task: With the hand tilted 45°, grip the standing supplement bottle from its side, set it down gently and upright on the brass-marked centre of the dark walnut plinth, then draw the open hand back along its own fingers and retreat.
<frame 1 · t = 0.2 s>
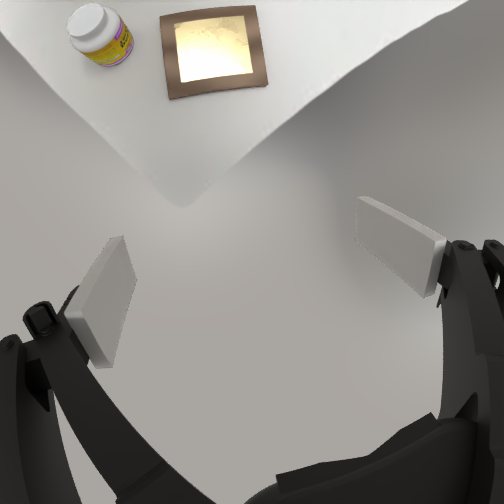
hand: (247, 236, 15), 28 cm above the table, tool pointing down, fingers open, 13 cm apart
walnut plinth: (212, 49, 32), on the table
supplement bottle: (113, 48, 28), on the table
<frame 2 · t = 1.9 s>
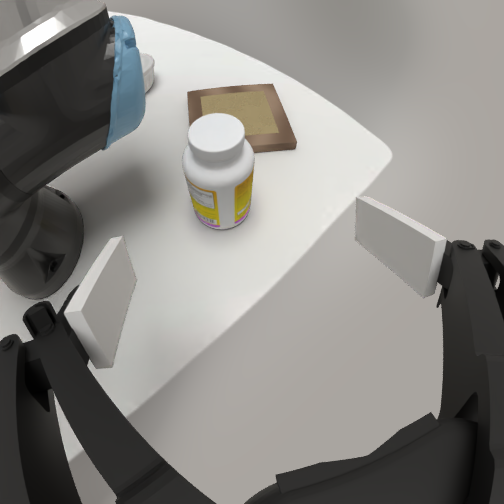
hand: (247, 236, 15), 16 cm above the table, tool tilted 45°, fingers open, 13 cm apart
walnut plinth: (237, 119, 38), on the table
ramekin: (129, 90, 41), on the table
supplement bottle: (222, 206, 33), on the table
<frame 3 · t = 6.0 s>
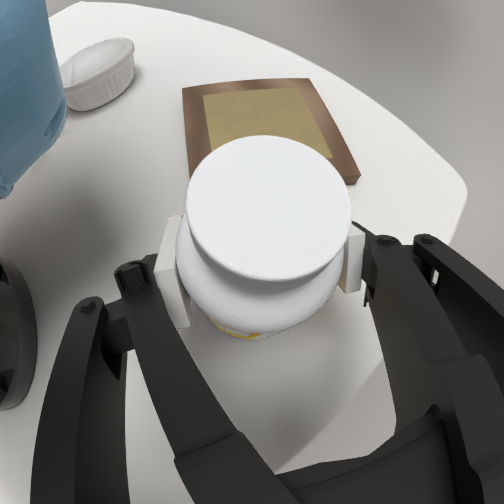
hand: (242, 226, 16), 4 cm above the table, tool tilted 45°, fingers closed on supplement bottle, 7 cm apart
walnut plinth: (261, 132, 24), on the table
ramekin: (101, 90, 27), on the table
supplement bottle: (249, 293, 20), on the table, touching gripper
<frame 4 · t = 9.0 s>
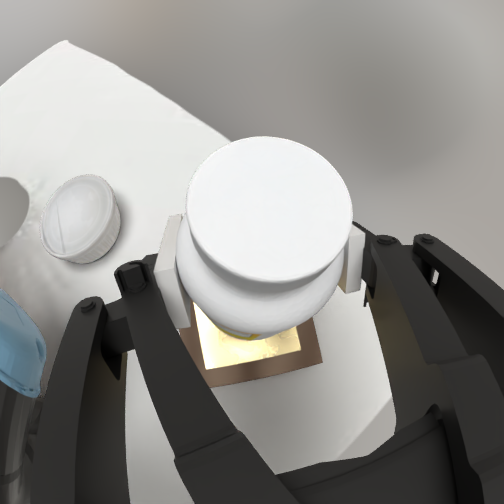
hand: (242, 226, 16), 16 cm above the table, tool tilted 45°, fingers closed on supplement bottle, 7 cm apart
walnut plinth: (243, 315, 30), on the table
ramekin: (91, 231, 32), on the table
supplement bottle: (249, 294, 20), point 11 cm above the table, touching gripper
when the fingers open (6 cm above the table, at t = 12.4 s): supplement bottle stays where it is, resting on walnut plinth.
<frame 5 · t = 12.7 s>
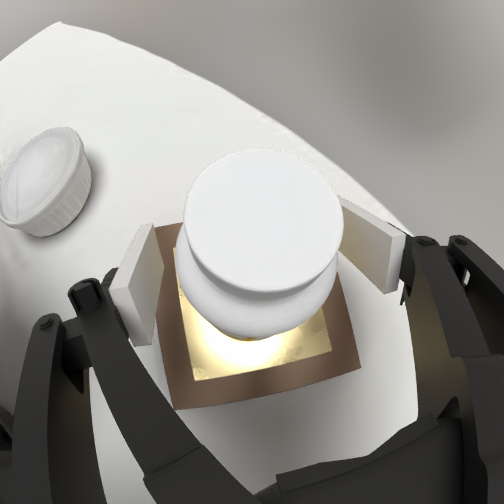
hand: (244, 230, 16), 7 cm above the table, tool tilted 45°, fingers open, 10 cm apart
walnut plinth: (249, 303, 21), on the table
ramekin: (58, 198, 24), on the table
supplement bottle: (248, 296, 20), point 1 cm above the table, touching walnut plinth
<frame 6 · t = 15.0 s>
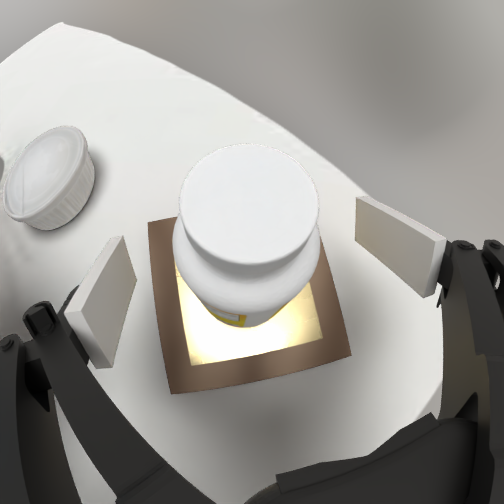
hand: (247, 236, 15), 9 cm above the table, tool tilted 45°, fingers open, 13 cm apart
walnut plinth: (244, 292, 22), on the table
ramekin: (62, 194, 25), on the table
supplement bottle: (242, 285, 21), point 1 cm above the table, touching walnut plinth
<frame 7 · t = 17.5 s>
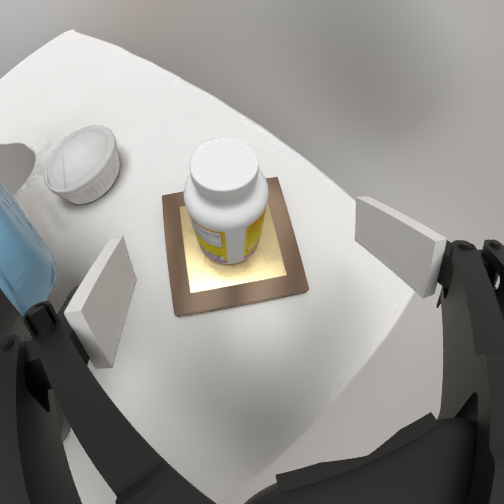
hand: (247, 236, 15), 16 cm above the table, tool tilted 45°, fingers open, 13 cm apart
walnut plinth: (230, 244, 31), on the table
ramekin: (92, 178, 34), on the table
supplement bottle: (228, 237, 30), point 1 cm above the table, touching walnut plinth
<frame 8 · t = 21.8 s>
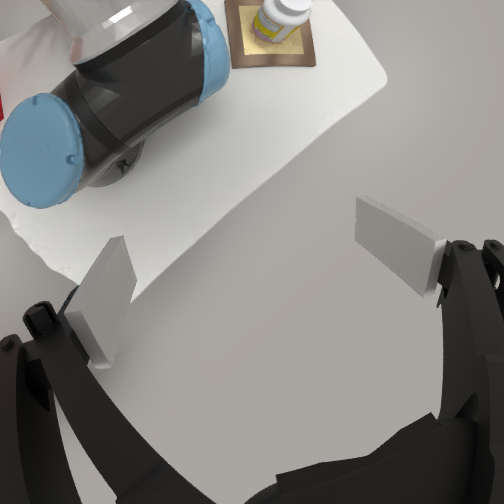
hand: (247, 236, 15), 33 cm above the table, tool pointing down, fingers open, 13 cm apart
walnut plinth: (269, 31, 35), on the table
supplement bottle: (270, 27, 34), point 1 cm above the table, touching walnut plinth
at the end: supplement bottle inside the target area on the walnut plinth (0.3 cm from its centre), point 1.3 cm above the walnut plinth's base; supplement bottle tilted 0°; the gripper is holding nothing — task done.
